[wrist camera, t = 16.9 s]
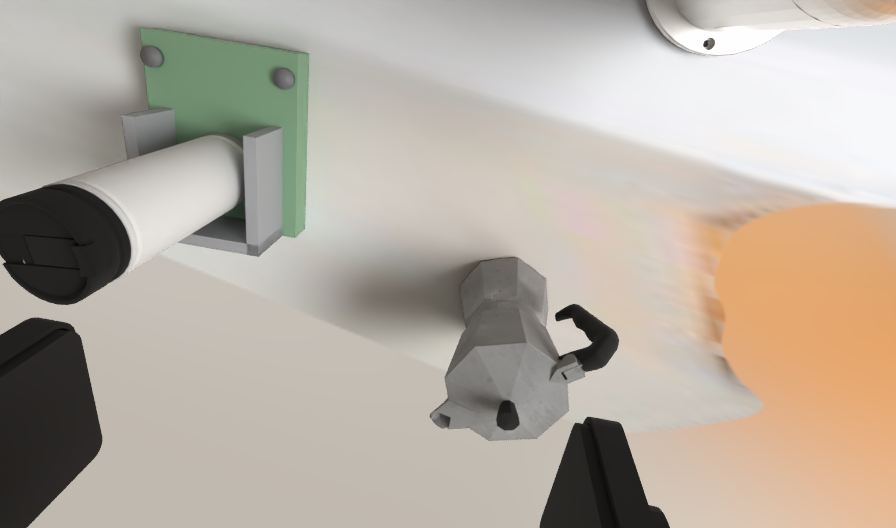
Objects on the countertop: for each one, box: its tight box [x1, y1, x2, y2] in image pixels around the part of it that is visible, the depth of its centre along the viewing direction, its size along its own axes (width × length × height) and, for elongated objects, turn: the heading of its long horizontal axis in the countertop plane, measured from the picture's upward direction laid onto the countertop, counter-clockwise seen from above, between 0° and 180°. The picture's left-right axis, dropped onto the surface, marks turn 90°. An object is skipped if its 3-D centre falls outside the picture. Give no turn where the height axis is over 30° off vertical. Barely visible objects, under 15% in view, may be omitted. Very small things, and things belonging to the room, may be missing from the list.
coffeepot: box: [430, 258, 619, 441], centre depth 40 cm, size 15×9×18 cm, turn 121°
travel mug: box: [0, 133, 245, 305], centre depth 34 cm, size 6×7×20 cm
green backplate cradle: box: [121, 28, 309, 257], centre depth 41 cm, size 16×13×8 cm
